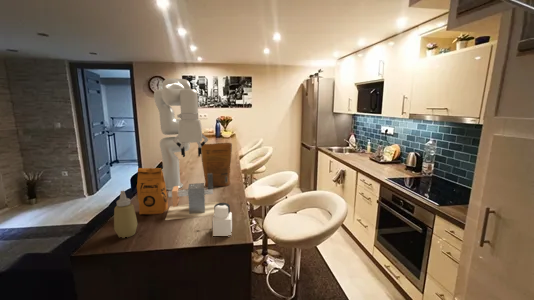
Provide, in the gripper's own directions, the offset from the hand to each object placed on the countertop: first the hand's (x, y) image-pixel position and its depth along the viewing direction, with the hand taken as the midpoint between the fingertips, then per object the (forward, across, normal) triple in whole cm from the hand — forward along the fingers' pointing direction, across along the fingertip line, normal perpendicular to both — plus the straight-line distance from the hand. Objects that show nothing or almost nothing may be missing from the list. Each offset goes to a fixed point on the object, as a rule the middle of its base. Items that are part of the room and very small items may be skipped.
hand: (191, 155), depth 114 cm
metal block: (+27, +2, 0) cm, 27 cm away
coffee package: (+28, -19, +4) cm, 34 cm away
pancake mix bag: (+28, +13, +38) cm, 49 cm away
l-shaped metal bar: (+19, -1, 0) cm, 19 cm away
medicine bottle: (+28, +12, -23) cm, 38 cm away
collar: (+23, -8, 0) cm, 24 cm away
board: (+28, 0, 0) cm, 28 cm away
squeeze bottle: (+28, -25, -16) cm, 41 cm away
